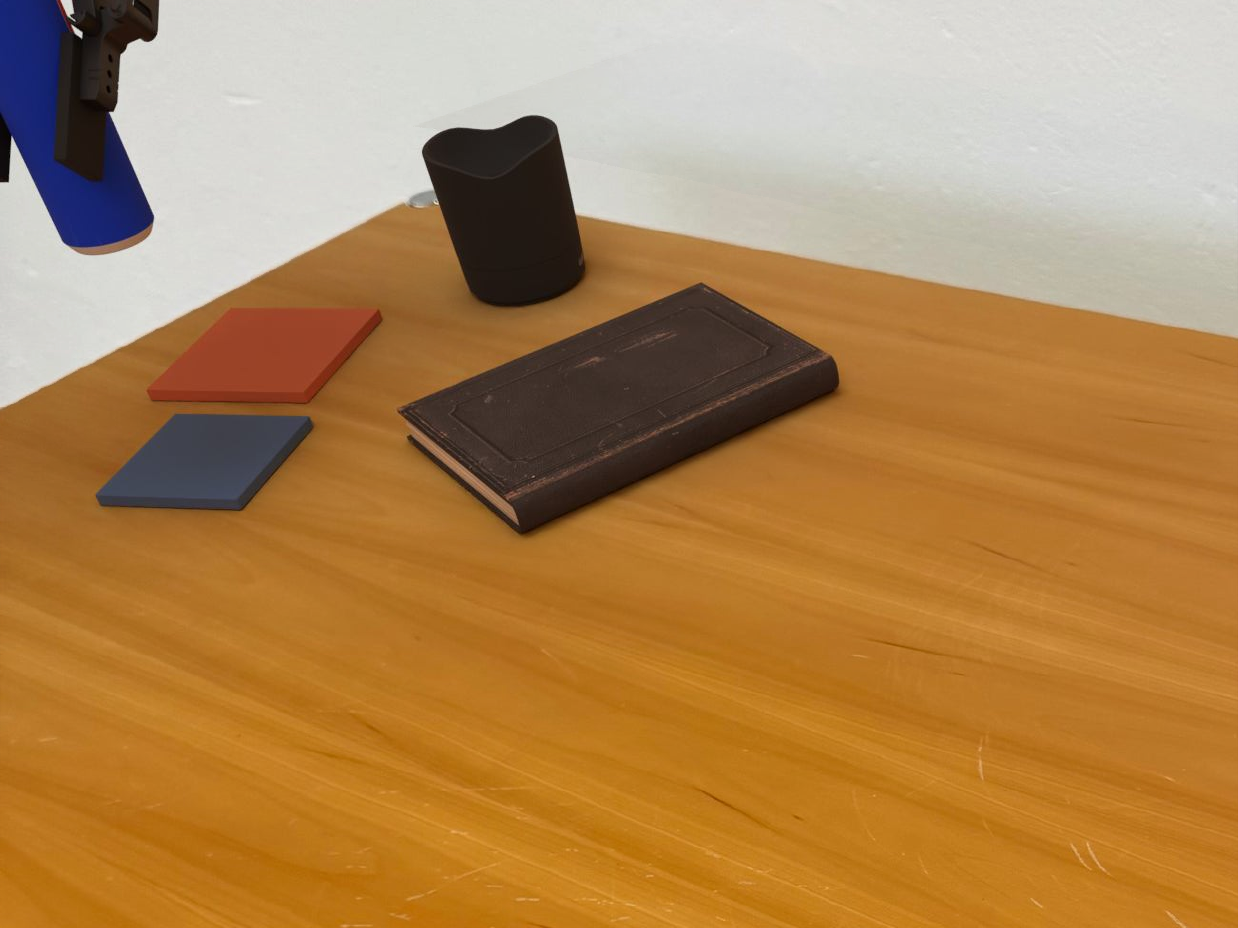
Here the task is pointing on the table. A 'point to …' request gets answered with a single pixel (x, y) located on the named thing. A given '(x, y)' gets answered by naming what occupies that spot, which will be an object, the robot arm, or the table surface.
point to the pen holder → (508, 209)
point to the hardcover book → (615, 403)
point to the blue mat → (205, 461)
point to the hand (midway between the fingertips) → (30, 170)
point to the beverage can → (27, 98)
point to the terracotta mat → (266, 355)
